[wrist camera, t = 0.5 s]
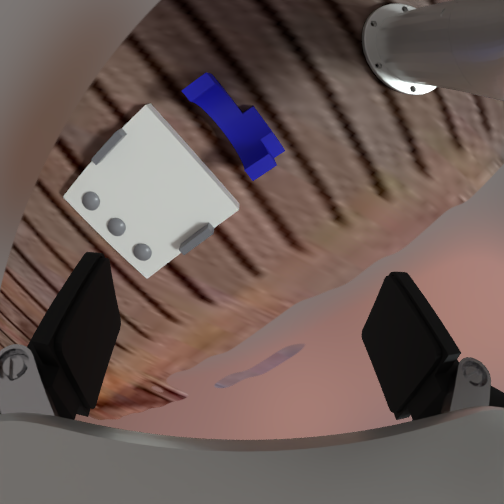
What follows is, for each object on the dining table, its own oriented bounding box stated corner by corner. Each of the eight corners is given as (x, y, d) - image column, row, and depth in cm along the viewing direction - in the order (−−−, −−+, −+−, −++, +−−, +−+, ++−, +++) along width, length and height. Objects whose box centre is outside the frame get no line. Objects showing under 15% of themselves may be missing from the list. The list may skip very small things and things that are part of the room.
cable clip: (281, 145, 35) (288, 157, 30) (251, 165, 37) (252, 181, 31) (222, 66, 30) (218, 63, 25) (191, 89, 31) (181, 90, 26)
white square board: (150, 103, 31) (141, 106, 29) (239, 203, 39) (239, 214, 36) (69, 191, 36) (57, 201, 34) (150, 270, 44) (144, 285, 41)
